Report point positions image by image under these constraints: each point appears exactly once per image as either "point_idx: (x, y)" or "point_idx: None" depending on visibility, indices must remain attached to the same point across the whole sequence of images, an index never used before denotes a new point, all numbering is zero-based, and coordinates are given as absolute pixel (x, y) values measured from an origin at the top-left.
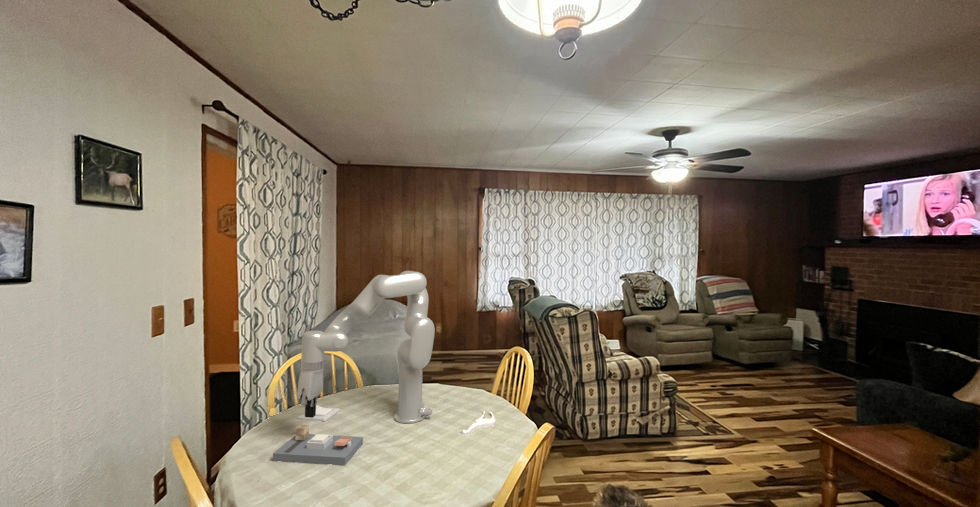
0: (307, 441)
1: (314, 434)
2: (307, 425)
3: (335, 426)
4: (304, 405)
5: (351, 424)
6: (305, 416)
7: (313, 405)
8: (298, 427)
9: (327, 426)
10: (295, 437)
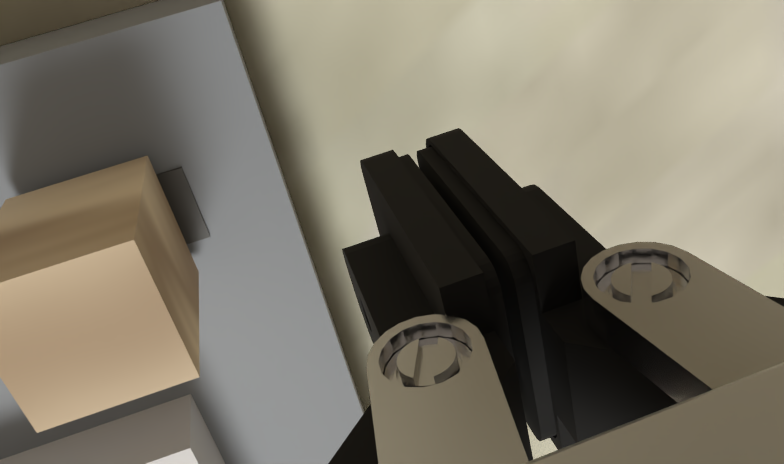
0: None
1: (306, 258)
2: (171, 376)
3: (703, 135)
4: (370, 366)
5: (769, 255)
6: (364, 173)
7: (554, 418)
8: (13, 310)
9: (689, 41)
10: (96, 91)
